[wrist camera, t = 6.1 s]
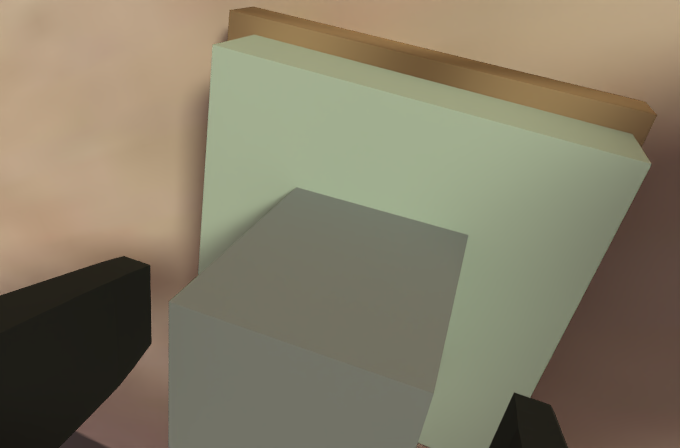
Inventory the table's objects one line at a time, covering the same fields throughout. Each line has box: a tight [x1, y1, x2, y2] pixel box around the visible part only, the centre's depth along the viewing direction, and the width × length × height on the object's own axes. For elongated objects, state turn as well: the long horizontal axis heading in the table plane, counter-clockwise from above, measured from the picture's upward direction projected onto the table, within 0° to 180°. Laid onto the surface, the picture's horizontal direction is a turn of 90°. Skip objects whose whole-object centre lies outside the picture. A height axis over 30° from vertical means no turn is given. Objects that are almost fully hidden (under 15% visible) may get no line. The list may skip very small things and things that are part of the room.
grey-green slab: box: [198, 35, 651, 448], centre depth 13 cm, size 9×9×2 cm
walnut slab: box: [228, 7, 657, 147], centre depth 15 cm, size 10×10×2 cm
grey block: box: [168, 187, 468, 448], centre depth 10 cm, size 4×4×5 cm
